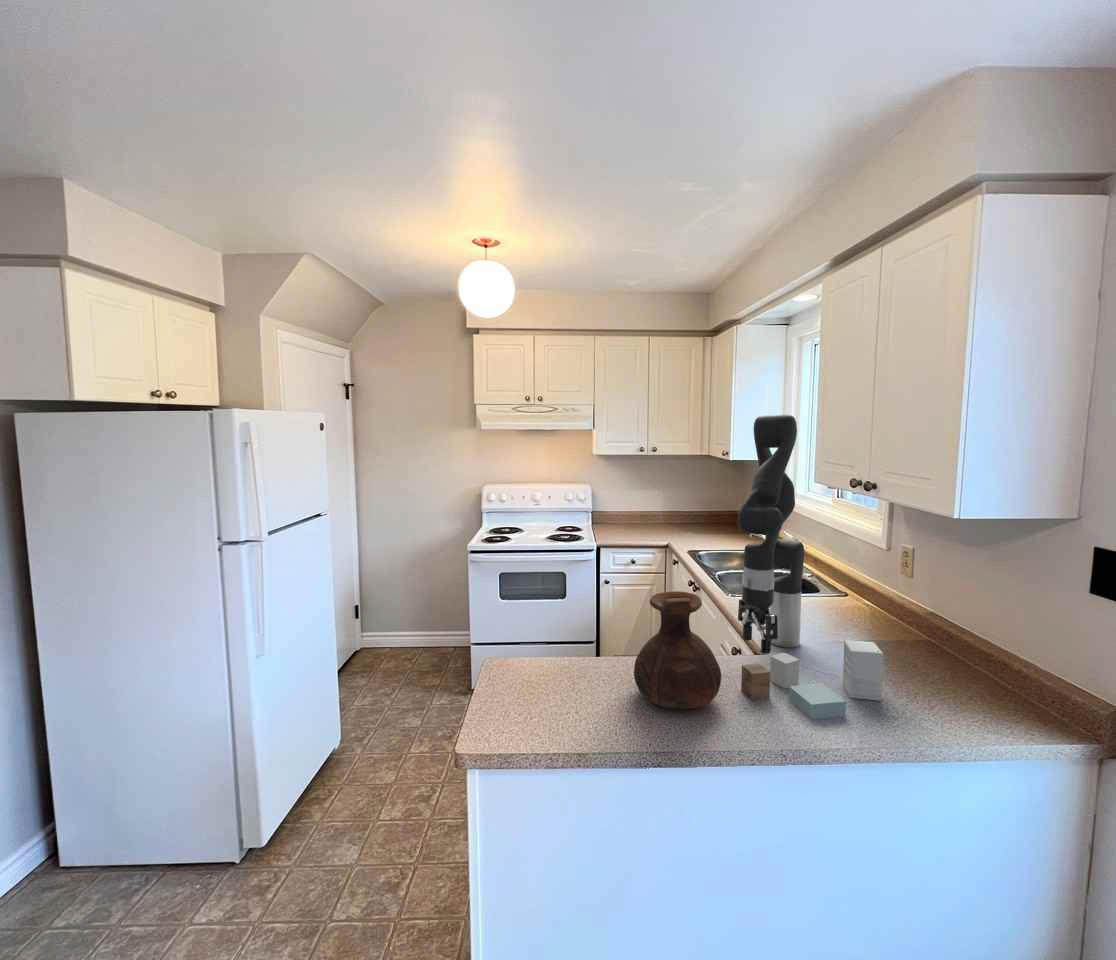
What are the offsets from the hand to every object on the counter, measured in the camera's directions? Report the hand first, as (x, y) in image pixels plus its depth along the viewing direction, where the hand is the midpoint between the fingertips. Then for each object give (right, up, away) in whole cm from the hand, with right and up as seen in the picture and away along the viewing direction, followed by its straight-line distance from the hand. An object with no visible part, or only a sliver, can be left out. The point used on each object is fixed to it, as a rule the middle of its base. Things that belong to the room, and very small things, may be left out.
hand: (756, 646), depth 135 cm
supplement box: (+28, -13, +1) cm, 30 cm away
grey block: (+10, -12, +7) cm, 18 cm away
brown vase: (-21, -14, 0) cm, 25 cm away
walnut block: (0, -13, +1) cm, 13 cm away
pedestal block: (+13, -14, -5) cm, 19 cm away
